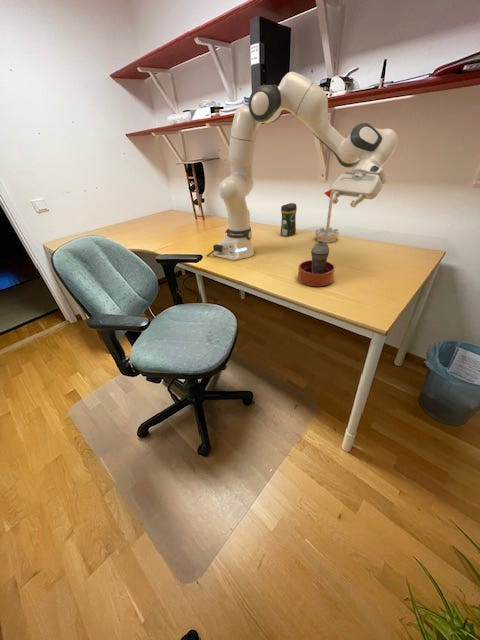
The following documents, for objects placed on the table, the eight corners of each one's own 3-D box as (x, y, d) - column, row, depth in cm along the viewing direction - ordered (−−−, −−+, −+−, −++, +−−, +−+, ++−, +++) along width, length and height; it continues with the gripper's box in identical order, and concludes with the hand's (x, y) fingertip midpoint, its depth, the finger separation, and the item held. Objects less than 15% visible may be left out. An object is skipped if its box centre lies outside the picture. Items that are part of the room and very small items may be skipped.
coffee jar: (288, 231, 170) (289, 201, 160) (297, 233, 165) (299, 202, 155) (278, 235, 166) (278, 204, 155) (287, 237, 160) (288, 205, 150)
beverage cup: (312, 272, 115) (317, 227, 104) (328, 275, 112) (335, 229, 100) (305, 278, 111) (310, 232, 99) (322, 282, 107) (328, 234, 95)
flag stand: (342, 239, 151) (351, 182, 134) (328, 244, 145) (336, 185, 128) (324, 234, 160) (330, 181, 142) (310, 240, 154) (315, 184, 136)
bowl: (293, 284, 108) (294, 271, 105) (302, 270, 119) (303, 258, 116) (329, 289, 103) (332, 276, 99) (335, 274, 113) (337, 261, 110)
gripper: (340, 166, 105) (320, 196, 107) (385, 168, 90) (361, 202, 92) (346, 177, 109) (326, 205, 111) (390, 181, 94) (366, 213, 96)
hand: (342, 204), depth 101 cm, fingers open, 8 cm apart
